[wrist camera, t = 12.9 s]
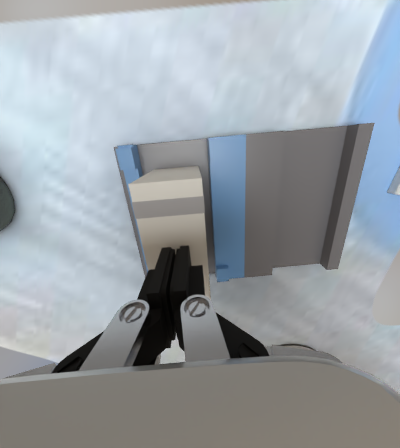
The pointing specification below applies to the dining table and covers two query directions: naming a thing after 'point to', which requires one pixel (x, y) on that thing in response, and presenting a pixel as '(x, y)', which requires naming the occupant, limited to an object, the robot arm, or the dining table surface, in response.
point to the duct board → (264, 194)
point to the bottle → (5, 205)
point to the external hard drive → (395, 184)
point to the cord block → (171, 214)
